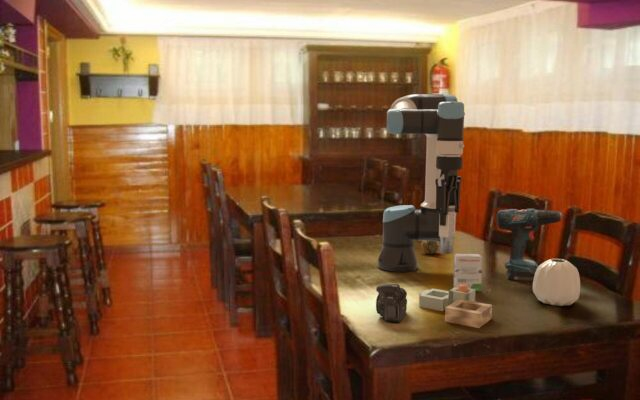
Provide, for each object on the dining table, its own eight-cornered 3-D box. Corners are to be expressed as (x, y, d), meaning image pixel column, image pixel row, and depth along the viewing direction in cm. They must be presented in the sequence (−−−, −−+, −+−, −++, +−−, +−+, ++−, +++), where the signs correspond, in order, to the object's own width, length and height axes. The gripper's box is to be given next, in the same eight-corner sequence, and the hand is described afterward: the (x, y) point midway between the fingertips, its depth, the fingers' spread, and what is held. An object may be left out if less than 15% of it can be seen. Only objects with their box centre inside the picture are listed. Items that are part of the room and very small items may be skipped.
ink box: (478, 287, 214) (480, 253, 212) (481, 291, 209) (483, 256, 208) (452, 287, 214) (454, 252, 213) (455, 291, 210) (456, 256, 208)
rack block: (444, 321, 179) (445, 307, 179) (458, 312, 187) (458, 299, 187) (479, 328, 174) (479, 314, 173) (491, 318, 182) (492, 304, 181)
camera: (372, 310, 189) (372, 277, 188) (405, 309, 190) (406, 277, 188) (378, 324, 176) (378, 289, 175) (413, 324, 177) (414, 289, 175)
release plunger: (456, 302, 189) (456, 285, 188) (459, 300, 191) (460, 283, 191) (465, 303, 188) (465, 287, 187) (468, 301, 190) (469, 285, 189)
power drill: (563, 282, 221) (567, 211, 217) (494, 279, 225) (497, 209, 222) (559, 276, 229) (563, 207, 226) (493, 273, 234) (496, 205, 230)
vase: (575, 312, 188) (577, 267, 187) (527, 304, 196) (529, 261, 194) (583, 300, 200) (586, 258, 198) (538, 293, 207) (540, 253, 206)
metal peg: (436, 252, 187) (438, 205, 186) (442, 250, 191) (444, 204, 189) (450, 254, 185) (451, 206, 183) (455, 252, 188) (457, 205, 187)
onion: (442, 252, 268) (443, 233, 266) (435, 256, 261) (436, 237, 260) (425, 250, 272) (426, 232, 270) (418, 253, 265) (418, 235, 264)
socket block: (416, 306, 193) (416, 287, 192) (429, 298, 201) (429, 280, 200) (465, 315, 184) (465, 295, 184) (476, 307, 192) (477, 288, 191)
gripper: (449, 157, 175) (447, 241, 178) (473, 155, 189) (470, 232, 192) (424, 156, 180) (422, 238, 182) (449, 154, 194) (446, 230, 196)
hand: (446, 235), depth 187 cm, fingers closed on metal peg, 4 cm apart
